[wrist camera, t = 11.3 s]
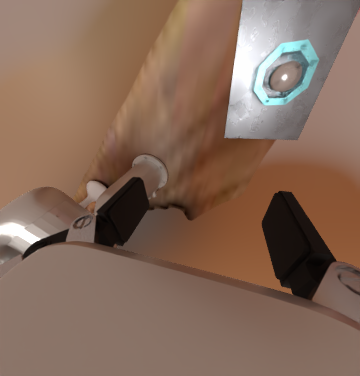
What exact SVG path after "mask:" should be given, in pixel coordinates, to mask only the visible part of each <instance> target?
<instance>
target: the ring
mask: <svg viewBox="0 0 360 376" xmlns="http://www.w3.org/2000/svg"><path fill="white" fill-rule="evenodd" d="M287 55H292V57H293V59H294V60H295V61H297V62H299V63H300V64H301V66H302V74H301V77H300V79H299V81H298V82H297V84H296V85H295V86H294V87H292V88H291V89H289V90H287V91H284V92H283V93H281V94H280V95H279V96H267V95H266V94H265V92H264V91H263V89H262V88H261V86H262V82H263V78H264V74H265V70H266V68H267V67H268V66H269V65H270V64H271V63H272V62H273V61H274V60H275V59H276V58H277V57H278V56H287ZM318 62H319V58H318V57H317V55H316V53H315V51H314V49H313V47H312V45H311V43H310V42H309V40H302V41H295V42H288V43H281V44H280V45H279V46H277V47H276V48H275V49H274V50H273V51H272V52H271V53H270V54H269V55H268V57H267V58H266V59H265V60H264V61H263V62H262V63H261V64H260V65H259V66H258V67H257V68H256V71H255V76H254V81H253V85H252V89H251V90H252V91H253V92H254V94H255V95H256V97H257V98H258V99H259V101H260V102H261V103H262V104H263V105H286V104H287V103H288V102H289V101H291V100H292V99H293V98H295V97H296V96H297V95H299V94H300V93H301V92H302V91H304V90H305V89H306V88H308V86H309V83H310V81H311V78H312V76H313V74H314V71H315V69H316V66H317V64H318Z"/></svg>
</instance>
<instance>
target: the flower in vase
mask: <svg viewBox="0 0 360 376" xmlns="http://www.w3.org/2000/svg"><path fill="white" fill-rule="evenodd" d="M106 189H107V188H106V187H105V186H104V185H103V184H101V183H99V182H97V181H89V182H88V184H87V193H88V197H87V198H86V199H85V200H84V201H83V202H81V203H79V205H81V206H82V207H83V208H85V207H86V206H87V205H88V204H90V203H91V202H93V201H97V199H98V198H99V196H100V195H101V194H102V193H103V192H104V191H105V190H106Z"/></svg>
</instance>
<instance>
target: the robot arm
mask: <svg viewBox="0 0 360 376" xmlns="http://www.w3.org/2000/svg"><path fill="white" fill-rule="evenodd" d="M167 180H168V172H167V169H166V167H165V165H164V164H163V163H162V162H161V161H160V160H159V159H158V158H156V157H154V156H152V155H149V154H142V155H139V156H138V157H136V158H135V159H134V161H133V163H132V168H131V169H130V170H129V171H128V172H127V173H125V174H124V175H123V176H122V177H121V178H119V179H118V180H117V181H116V182H115V183H113V184H112V185H111V186H110V187H109V188H107V189H106V190H105V191H104V192H103V193H102V194H101V195H100V196H99V198H98V199H97V202H96V205H95V211H94V214H92V213H90V212H88V211H87V210H86V209H84V208H83V207H82V206H81V205H79V204H78V203H77V202H76V201H74V200H73V199H72V198H71V197H69V196H68V195H66V194H65V193H64V192H62V191H61V190H59V189H57V188H54V187H40V188H36V189H33V190H31V191H29V192H27V193H25V194H23V195H21V196H20V197H18V198H16V199H15V200H13V201H12V202H10V203H9V204H8V205H6V206H5V207H3V208H2V209H1V210H0V376H360V269H359V268H357V267H355V266H353V265H351V264H348V263H345V262H339V261H336V259H335V258H334V256H333V255H332V253H331V252H330V250H329V249H328V247H327V245H326V244H325V242H324V241H323V239H322V238H321V236H320V235H319V233H318V232H317V230H316V229H315V227H314V226H313V224H312V222H311V221H310V219H309V218H308V217H307V215H306V214H305V212H304V210H303V209H302V207H301V206H300V204H299V203H298V201H297V200H296V198H295V197H294V195H293V194H292V192H285V191H279V192H278V193H275V194H274V196H273V198H272V200H271V203H270V205H269V207H268V210H267V212H266V214H265V216H264V218H263V220H262V228H263V232H264V236H265V239H266V243H267V247H268V250H269V253H270V258H271V261H272V265H273V269H274V272H275V276H276V278H277V279H279V280H280V283H281V286H282V287H287V288H291V290H292V293H293V295H291V294H288V293H285V292H281V291H277V290H274V289H271V288H267V287H263V286H259V285H256V284H253V283H249V282H245V281H241V280H238V279H234V278H230V277H226V276H222V275H219V274H215V273H211V272H207V271H204V270H200V269H196V268H192V267H188V266H184V265H180V264H177V263H172V262H169V261H165V260H161V259H157V258H153V257H149V256H145V255H141V254H138V253H134V252H129V251H125V250H122V249H118V248H117V247H118V245H120V246H123V245H124V243H125V242H127V241H128V239H129V238H130V236H131V235H132V233H133V232H134V230H135V229H136V227H137V225H138V224H139V222H140V221H141V219H142V218H143V216H144V214H145V213H146V211H147V210H148V208H149V201H148V199H151V198H152V196H151V195H153V197H156V196H157V195H156V190H157V189H158V188H161V187H163V186H164V185H165V184H166V182H167Z"/></svg>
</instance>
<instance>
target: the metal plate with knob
mask: <svg viewBox="0 0 360 376" xmlns="http://www.w3.org/2000/svg"><path fill="white" fill-rule="evenodd" d="M359 7H360V0H243V4H242V11H241V19H240V26H239V33H238V41H237V48H236V55H235V63H234V70H233V77H232V85H231V92H230V100H229V107H228V114H227V122H226V129H225V136H224V138H247V139H284V140H297V139H298V138H299V136H300V134H301V132H302V129H303V127H304V125H305V123H306V121H307V119H308V117H309V114H310V112H311V110H312V108H313V106H314V104H315V102H316V99H317V97H318V95H319V93H320V91H321V89H322V87H323V84H324V82H325V80H326V78H327V76H328V74H329V72H330V69H331V67H332V65H333V63H334V61H335V59H336V57H337V54H338V52H339V50H340V48H341V46H342V43H343V42H344V39H345V37H346V35H347V33H348V31H349V29H350V27H351V25H352V22H353V20H354V18H355V16H356V14H357V12H358V10H359ZM302 40H309V42H310V43H311V45H312V47H313V49H314V51H315V53H316V55H317V57H318V58H319V62H318V64H317V66H316V69H315V71H314V74H313V76H312V78H311V81H310V83H309V86H308V88H306V89H305V90H304V91H302V92H301V93H300V94H299V95H297V96H296V97H295V98H293V99H292V100H291V101H289V102H288V103H287V104H286V105H263V104H262V103H261V102H260V101H259V99H258V98H257V97H256V95H255V94H254V92H253V91H252V90H251V89H252V85H253V81H254V76H255V71H256V68H257V67H258V66H259V65H260V64H261V63H262V62H263V61H264V60H265V59H266V58H267V57H268V55H269V54H270V53H271V52H272V51H273V50H274V49H275V48H276V47H277V46H279V45H280V44H281V43H288V42H295V41H302ZM301 74H302V66H301V64H300V63H299V62H297V61H295V60H294V59H293V57H292V55H287V56H278V57H277V58H276V59H275V60H274V61H273V62H272V63H271V64H270V65H269V66H268V67H267V68H266V70H265V74H264V78H263V82H262V86H261V88H262V89H263V91H264V92H265V94H266V95H267V96H279V95H280V94H281V93H283V92H284V91H287V90H289V89H291V88H292V87H294V86H295V85H296V84H297V82H298V81H299V79H300V77H301Z"/></svg>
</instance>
